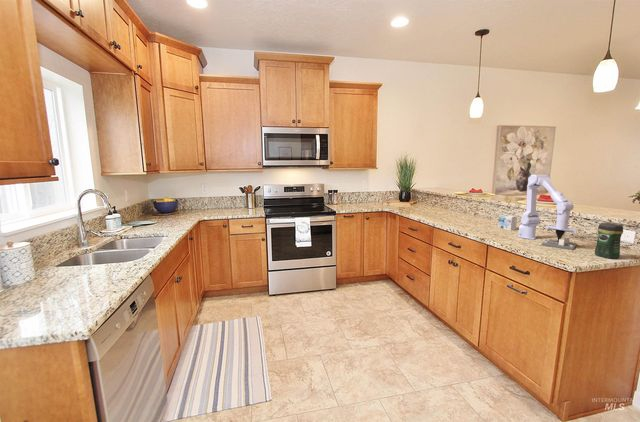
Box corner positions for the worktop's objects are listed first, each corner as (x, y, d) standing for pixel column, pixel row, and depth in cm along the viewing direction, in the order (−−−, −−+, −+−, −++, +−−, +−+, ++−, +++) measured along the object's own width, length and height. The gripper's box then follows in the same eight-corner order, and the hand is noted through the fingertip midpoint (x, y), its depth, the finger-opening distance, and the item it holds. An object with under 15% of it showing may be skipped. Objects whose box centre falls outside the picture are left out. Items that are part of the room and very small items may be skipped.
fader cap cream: (558, 244, 181) (559, 239, 180) (559, 243, 183) (559, 238, 182) (563, 245, 179) (564, 239, 178) (564, 244, 181) (564, 238, 181)
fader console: (541, 245, 184) (541, 242, 184) (547, 240, 196) (547, 237, 196) (572, 250, 173) (573, 247, 173) (576, 244, 186) (577, 241, 185)
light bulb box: (497, 228, 237) (498, 214, 235) (502, 227, 239) (504, 214, 238) (510, 230, 227) (512, 216, 225) (516, 229, 230) (517, 216, 228)
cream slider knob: (563, 242, 185) (564, 237, 185) (564, 242, 187) (565, 236, 187) (568, 243, 183) (569, 237, 183) (569, 242, 185) (570, 237, 185)
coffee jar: (622, 259, 157) (628, 225, 154) (609, 259, 156) (615, 225, 153) (603, 253, 166) (607, 221, 163) (591, 254, 165) (595, 222, 162)
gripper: (546, 219, 182) (543, 241, 184) (577, 223, 171) (573, 246, 174) (548, 218, 186) (545, 239, 189) (578, 222, 176) (575, 243, 178)
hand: (559, 242), depth 182 cm, fingers closed, pressing on fader cap cream
